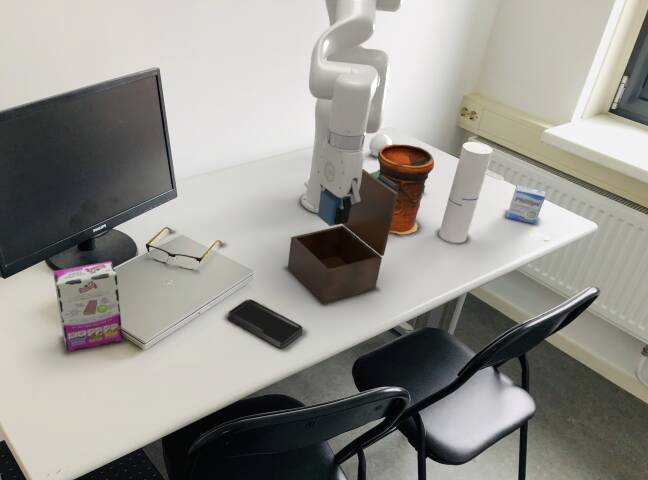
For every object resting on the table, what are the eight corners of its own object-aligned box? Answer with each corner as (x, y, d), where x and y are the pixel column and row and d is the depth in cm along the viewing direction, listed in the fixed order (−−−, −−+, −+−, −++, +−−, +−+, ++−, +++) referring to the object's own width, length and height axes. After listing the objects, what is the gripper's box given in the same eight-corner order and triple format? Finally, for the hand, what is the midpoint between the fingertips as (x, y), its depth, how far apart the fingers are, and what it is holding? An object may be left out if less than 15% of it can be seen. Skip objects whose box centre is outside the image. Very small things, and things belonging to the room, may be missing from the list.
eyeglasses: (144, 259, 156) (143, 245, 153) (171, 231, 167) (171, 217, 164) (198, 274, 152) (199, 259, 150) (222, 244, 163) (223, 230, 161)
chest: (323, 304, 146) (328, 271, 141) (287, 268, 157) (291, 237, 151) (375, 289, 152) (382, 257, 147) (337, 255, 163) (342, 225, 157)
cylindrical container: (466, 244, 171) (494, 155, 157) (439, 240, 172) (463, 151, 157) (465, 231, 177) (491, 144, 162) (438, 227, 178) (462, 140, 163)
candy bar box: (117, 326, 135) (112, 259, 125) (123, 341, 131) (118, 273, 122) (61, 337, 131) (52, 269, 121) (66, 353, 127) (56, 284, 118)
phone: (249, 298, 144) (304, 327, 137) (248, 302, 144) (304, 331, 137) (225, 313, 139) (282, 345, 132) (225, 318, 139) (281, 349, 132)
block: (317, 215, 144) (320, 191, 141) (336, 211, 146) (339, 187, 143) (330, 226, 141) (333, 201, 137) (348, 222, 143) (353, 197, 139)
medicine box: (506, 218, 185) (515, 190, 180) (507, 211, 188) (516, 184, 183) (535, 224, 183) (545, 197, 178) (536, 217, 186) (546, 190, 181)
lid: (395, 193, 137) (415, 189, 140) (352, 163, 148) (372, 160, 150) (381, 256, 146) (400, 251, 149) (341, 223, 157) (360, 219, 159)
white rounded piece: (362, 155, 214) (366, 133, 209) (376, 149, 218) (380, 128, 214) (387, 165, 208) (391, 144, 204) (401, 160, 213) (405, 138, 208)
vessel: (360, 228, 175) (373, 158, 163) (372, 205, 186) (385, 138, 174) (413, 241, 171) (430, 171, 159) (423, 217, 182) (439, 150, 170)
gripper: (307, 125, 137) (298, 203, 148) (355, 157, 125) (341, 239, 136) (337, 121, 140) (326, 197, 151) (386, 151, 128) (370, 232, 139)
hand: (333, 216), depth 143 cm, fingers closed on block, 5 cm apart
